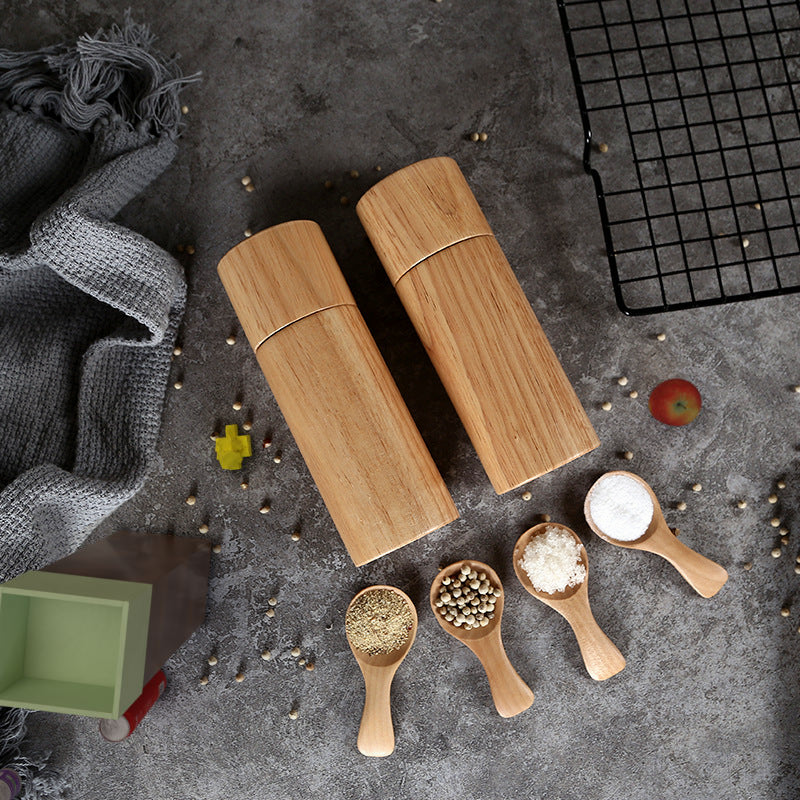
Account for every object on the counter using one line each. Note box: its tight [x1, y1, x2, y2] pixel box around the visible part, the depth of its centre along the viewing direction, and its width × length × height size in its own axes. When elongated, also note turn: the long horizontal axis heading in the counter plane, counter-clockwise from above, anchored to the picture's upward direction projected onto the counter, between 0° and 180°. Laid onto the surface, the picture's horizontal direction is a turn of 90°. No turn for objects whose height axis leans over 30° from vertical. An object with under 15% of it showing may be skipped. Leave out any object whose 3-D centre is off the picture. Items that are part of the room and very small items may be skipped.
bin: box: [0, 569, 152, 720], centre depth 87 cm, size 18×16×7 cm
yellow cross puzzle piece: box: [214, 424, 253, 471], centre depth 112 cm, size 6×8×8 cm
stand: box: [36, 529, 213, 687], centre depth 104 cm, size 17×15×27 cm
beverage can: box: [98, 669, 168, 744], centre depth 110 cm, size 6×6×15 cm
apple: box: [647, 377, 703, 427], centre depth 109 cm, size 8×8×10 cm
